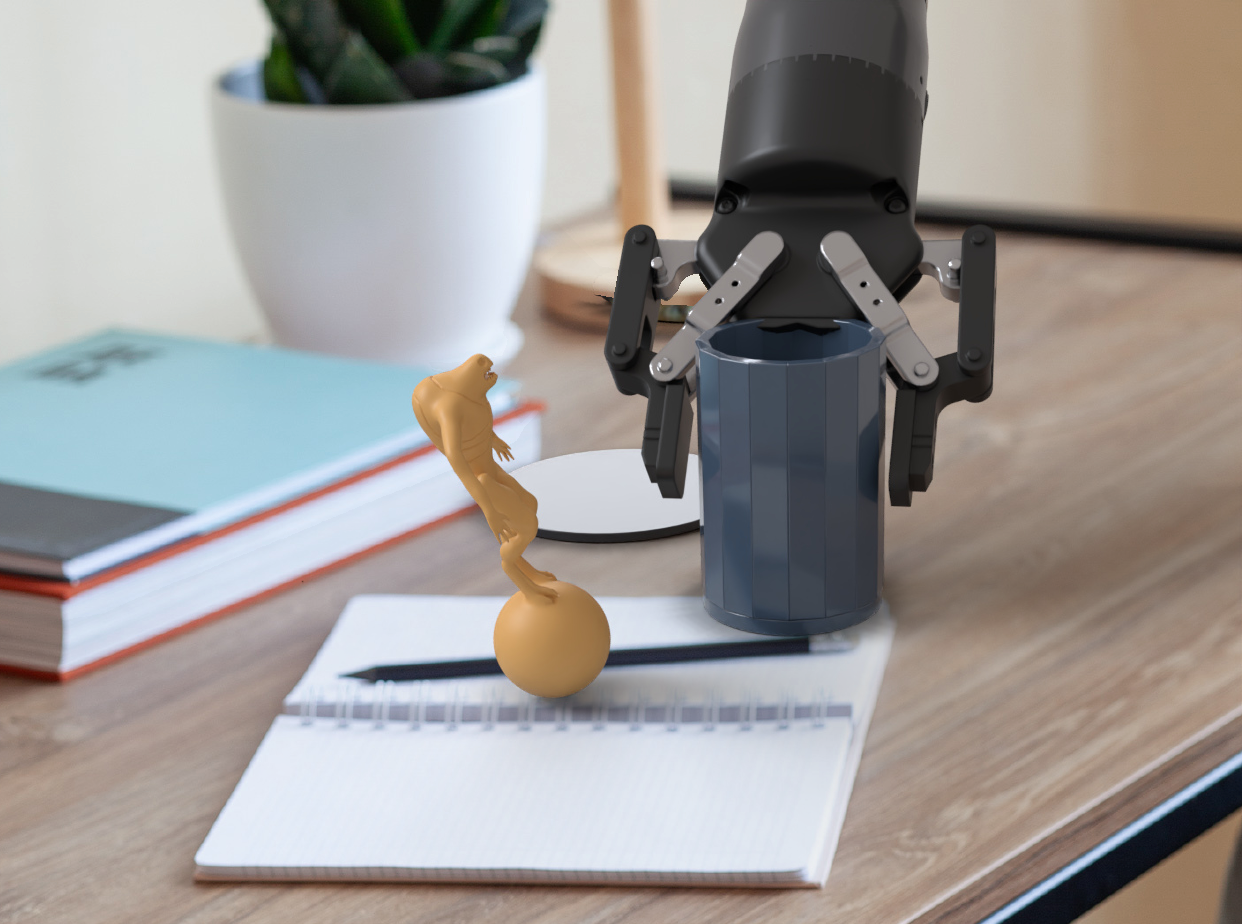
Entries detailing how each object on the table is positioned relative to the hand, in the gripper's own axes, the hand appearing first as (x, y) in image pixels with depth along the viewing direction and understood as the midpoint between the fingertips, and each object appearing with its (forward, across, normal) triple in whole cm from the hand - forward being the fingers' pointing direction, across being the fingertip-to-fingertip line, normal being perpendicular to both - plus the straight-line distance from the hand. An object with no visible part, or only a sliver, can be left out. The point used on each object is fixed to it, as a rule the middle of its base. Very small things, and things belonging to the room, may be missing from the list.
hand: (783, 493), depth 75 cm
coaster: (-5, -9, +12) cm, 16 cm away
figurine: (+9, -8, -2) cm, 12 cm away
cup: (+2, 0, +4) cm, 5 cm away
